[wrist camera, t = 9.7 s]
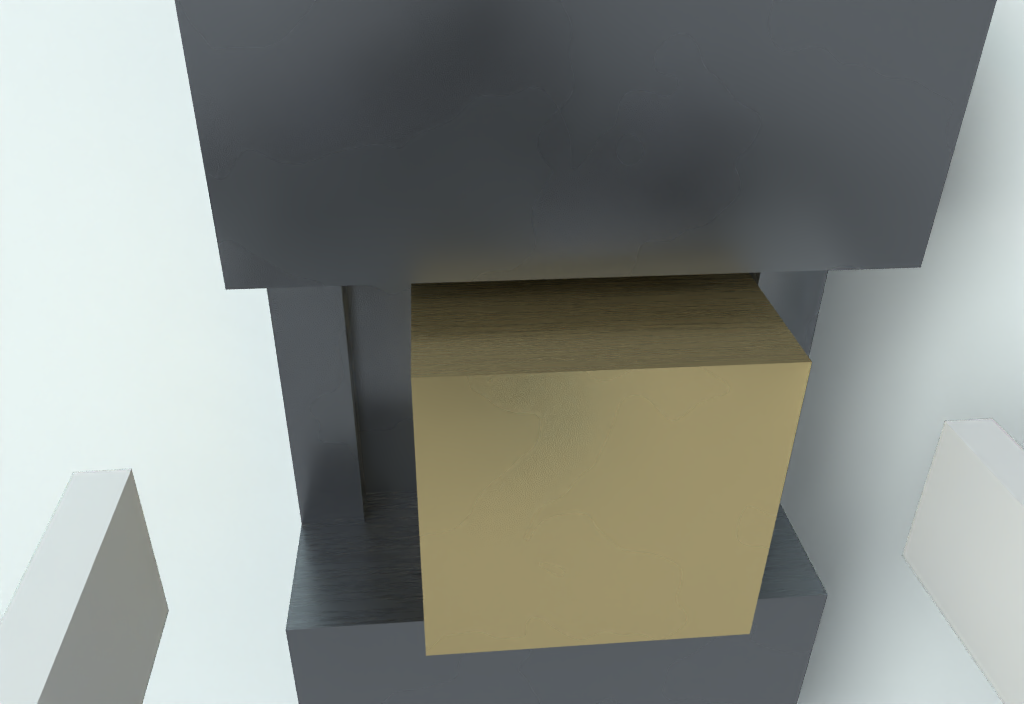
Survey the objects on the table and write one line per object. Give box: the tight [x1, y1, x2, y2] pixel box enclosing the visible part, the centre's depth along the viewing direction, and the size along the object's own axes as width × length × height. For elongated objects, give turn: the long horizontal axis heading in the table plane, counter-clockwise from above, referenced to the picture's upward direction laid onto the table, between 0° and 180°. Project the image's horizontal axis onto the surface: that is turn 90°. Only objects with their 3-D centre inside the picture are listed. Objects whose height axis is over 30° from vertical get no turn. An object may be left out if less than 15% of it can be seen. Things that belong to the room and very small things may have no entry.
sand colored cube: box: [411, 273, 812, 656], centre depth 14 cm, size 5×5×5 cm
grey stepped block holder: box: [175, 0, 997, 704], centre depth 19 cm, size 28×10×4 cm, turn 179°
